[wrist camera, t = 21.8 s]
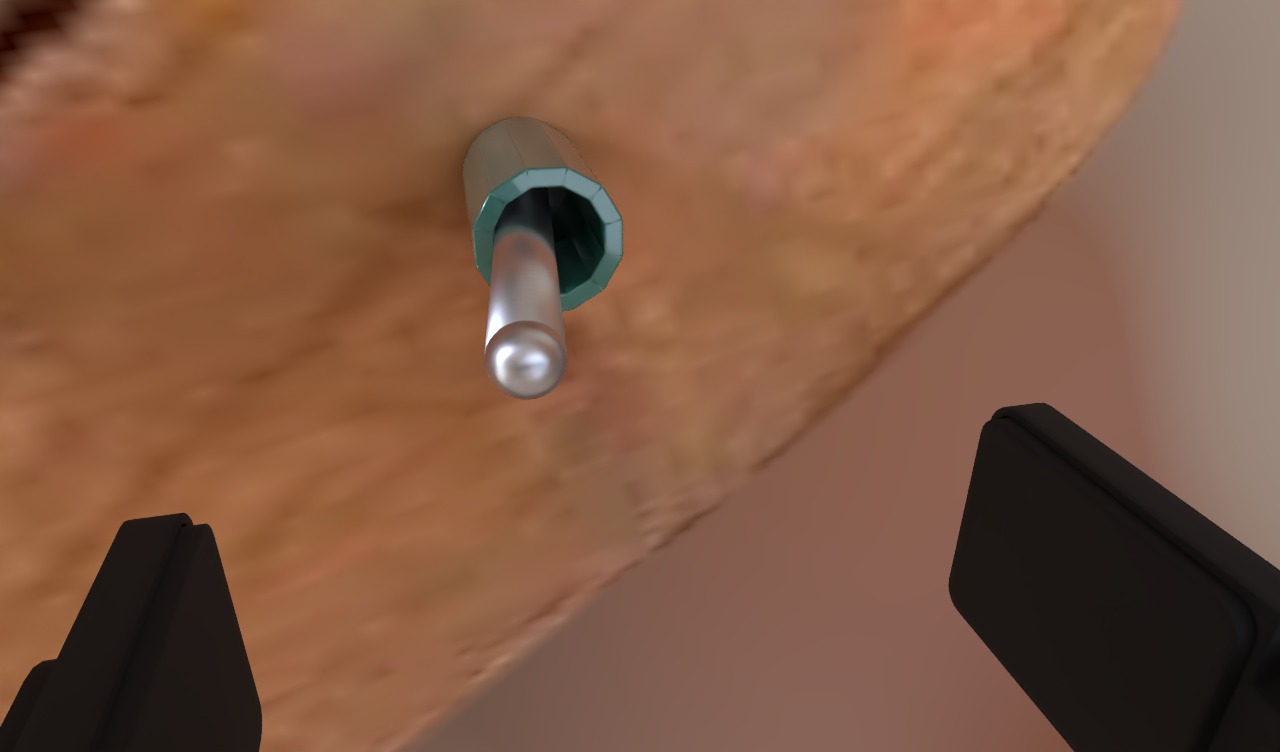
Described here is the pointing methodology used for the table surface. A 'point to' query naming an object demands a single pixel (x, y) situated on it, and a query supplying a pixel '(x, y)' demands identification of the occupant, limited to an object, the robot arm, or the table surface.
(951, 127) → the table surface
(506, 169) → the pen holder
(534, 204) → the silver metal rod
